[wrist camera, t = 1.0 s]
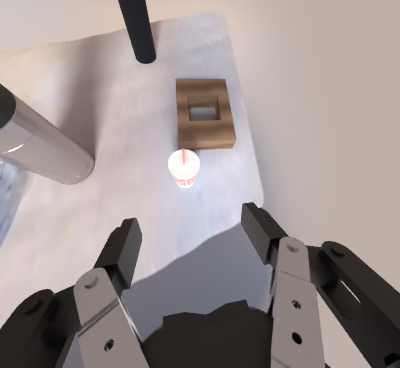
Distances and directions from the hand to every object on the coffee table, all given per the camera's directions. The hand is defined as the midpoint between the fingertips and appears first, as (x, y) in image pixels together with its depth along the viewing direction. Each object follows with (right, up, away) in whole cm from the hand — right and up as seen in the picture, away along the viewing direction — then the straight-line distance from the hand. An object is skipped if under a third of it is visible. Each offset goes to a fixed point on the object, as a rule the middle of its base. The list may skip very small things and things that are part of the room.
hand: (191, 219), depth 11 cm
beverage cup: (-3, +4, +26) cm, 26 cm away
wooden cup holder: (+1, +21, +31) cm, 38 cm away
